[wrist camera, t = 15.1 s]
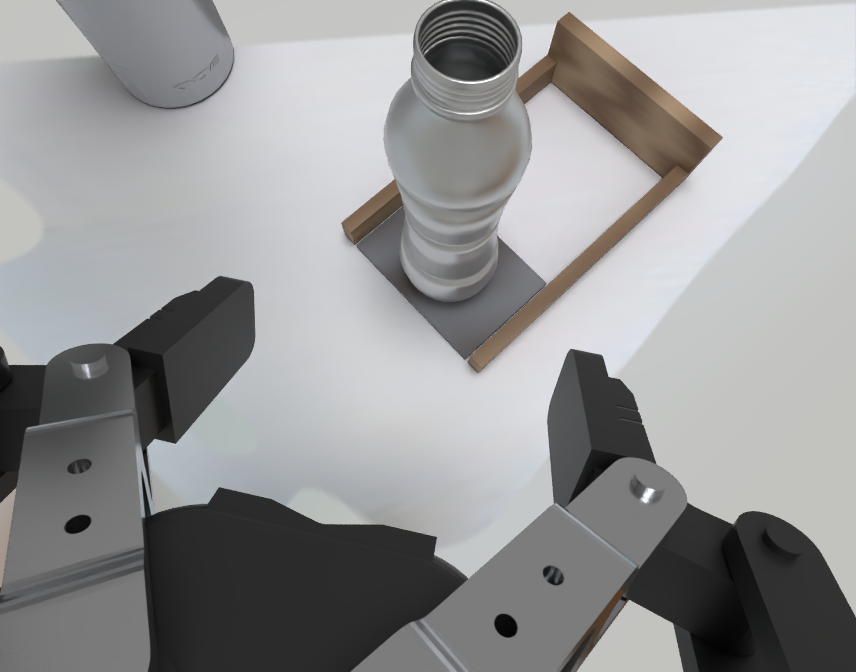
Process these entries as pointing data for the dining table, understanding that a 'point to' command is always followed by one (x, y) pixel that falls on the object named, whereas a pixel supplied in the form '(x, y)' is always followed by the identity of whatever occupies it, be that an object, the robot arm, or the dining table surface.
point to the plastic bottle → (457, 145)
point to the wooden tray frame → (517, 283)
